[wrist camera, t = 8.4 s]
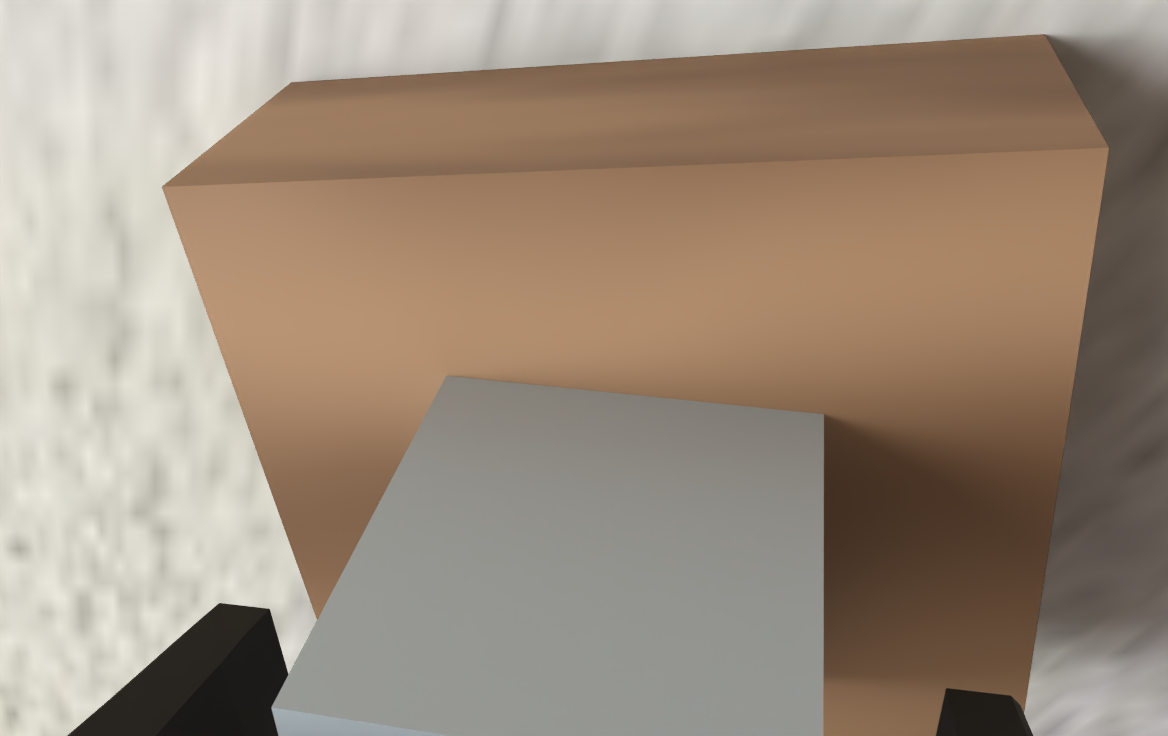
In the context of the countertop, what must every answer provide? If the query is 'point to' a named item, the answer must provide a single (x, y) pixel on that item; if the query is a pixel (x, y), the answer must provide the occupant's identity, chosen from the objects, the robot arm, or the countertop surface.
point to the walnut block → (692, 301)
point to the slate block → (579, 575)
